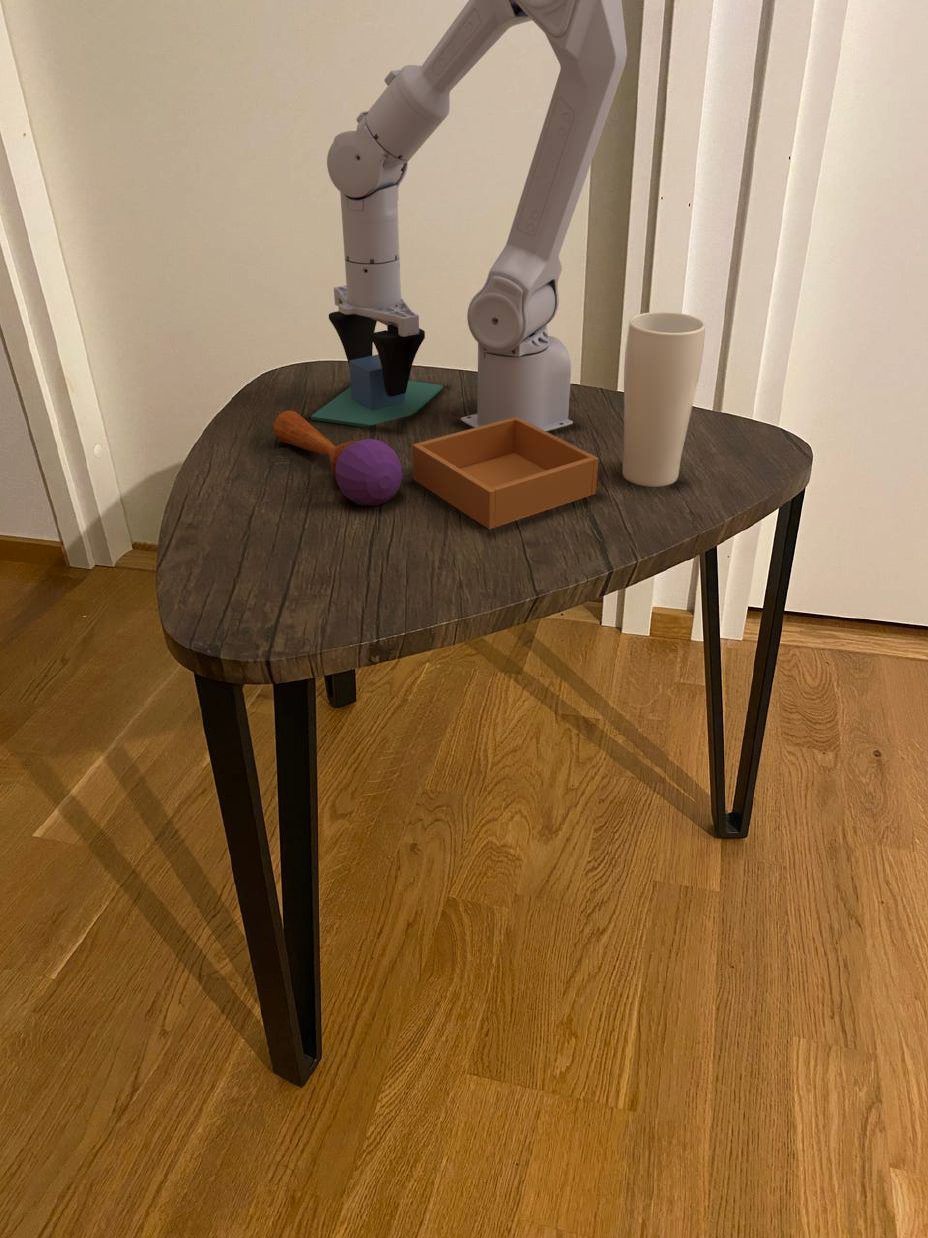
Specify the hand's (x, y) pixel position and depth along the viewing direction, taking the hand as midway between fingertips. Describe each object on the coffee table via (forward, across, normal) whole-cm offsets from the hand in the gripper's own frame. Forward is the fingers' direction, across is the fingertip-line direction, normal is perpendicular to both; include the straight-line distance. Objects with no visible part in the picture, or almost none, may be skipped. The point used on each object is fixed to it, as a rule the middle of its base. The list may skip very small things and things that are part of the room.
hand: (378, 384), depth 109 cm
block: (+2, 0, 0) cm, 2 cm away
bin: (+2, +26, -2) cm, 26 cm away
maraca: (+2, +14, -13) cm, 19 cm away
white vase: (+2, +32, +11) cm, 34 cm away
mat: (+2, 0, 0) cm, 2 cm away
